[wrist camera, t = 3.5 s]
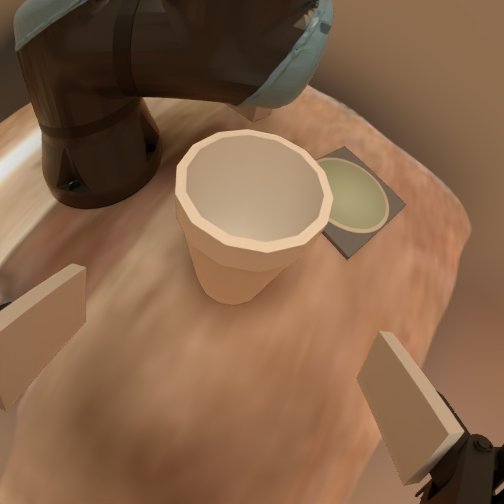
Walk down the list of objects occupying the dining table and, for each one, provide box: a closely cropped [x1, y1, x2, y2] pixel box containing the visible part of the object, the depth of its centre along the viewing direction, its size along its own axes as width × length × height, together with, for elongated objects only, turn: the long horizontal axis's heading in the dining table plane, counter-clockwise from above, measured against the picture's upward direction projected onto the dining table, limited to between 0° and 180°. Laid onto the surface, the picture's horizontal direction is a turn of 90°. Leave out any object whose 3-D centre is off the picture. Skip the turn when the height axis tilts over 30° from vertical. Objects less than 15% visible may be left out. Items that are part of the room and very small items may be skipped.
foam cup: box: [175, 129, 333, 305], centre depth 23 cm, size 10×9×13 cm
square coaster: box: [316, 146, 406, 259], centre depth 36 cm, size 12×14×1 cm
